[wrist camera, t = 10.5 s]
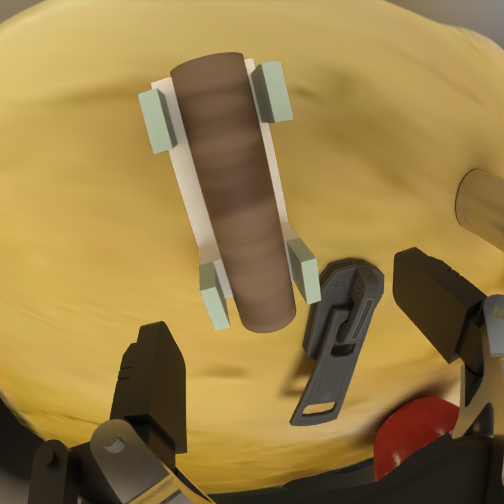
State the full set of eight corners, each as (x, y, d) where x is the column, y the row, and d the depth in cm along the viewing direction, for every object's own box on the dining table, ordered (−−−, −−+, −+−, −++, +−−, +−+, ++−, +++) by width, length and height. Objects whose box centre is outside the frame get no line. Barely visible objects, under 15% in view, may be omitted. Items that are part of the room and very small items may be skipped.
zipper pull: (285, 429, 36) (348, 285, 26) (275, 396, 42) (322, 255, 32) (338, 421, 38) (413, 287, 28) (325, 391, 44) (383, 260, 34)
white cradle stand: (152, 84, 21) (129, 66, 13) (250, 60, 22) (274, 32, 14) (214, 290, 31) (221, 348, 23) (294, 268, 32) (324, 318, 24)
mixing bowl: (462, 374, 56) (491, 411, 43) (400, 437, 66) (419, 473, 52) (406, 376, 48) (443, 431, 34) (333, 449, 57) (352, 497, 44)
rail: (172, 79, 17) (166, 66, 13) (237, 63, 18) (249, 47, 13) (237, 305, 26) (246, 340, 22) (286, 290, 27) (304, 321, 22)
